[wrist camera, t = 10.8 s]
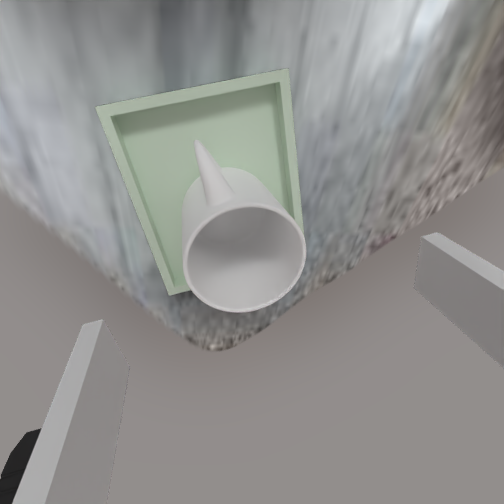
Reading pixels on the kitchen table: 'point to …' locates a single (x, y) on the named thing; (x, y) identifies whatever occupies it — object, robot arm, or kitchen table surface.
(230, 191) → the mug
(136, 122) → the tray
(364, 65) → the kitchen table surface
